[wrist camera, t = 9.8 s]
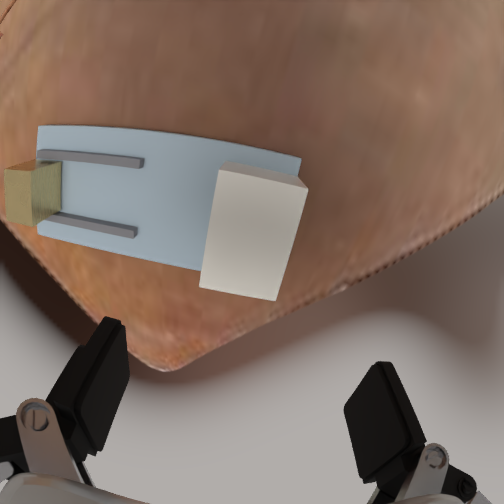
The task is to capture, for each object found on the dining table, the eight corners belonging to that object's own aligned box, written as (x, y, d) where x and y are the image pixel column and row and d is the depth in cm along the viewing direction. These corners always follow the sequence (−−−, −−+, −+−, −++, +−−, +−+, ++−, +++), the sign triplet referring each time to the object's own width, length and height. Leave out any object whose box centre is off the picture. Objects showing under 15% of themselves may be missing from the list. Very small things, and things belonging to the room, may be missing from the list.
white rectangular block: (225, 160, 22) (218, 169, 18) (297, 176, 23) (308, 189, 18) (207, 258, 26) (199, 286, 22) (271, 270, 27) (275, 301, 22)
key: (-8, 63, 17) (60, -32, 12) (-12, 63, 16) (56, -34, 12) (-21, 49, 15) (41, -40, 10) (-25, 49, 14) (38, -42, 9)
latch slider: (34, 159, 21) (4, 169, 17) (61, 161, 22) (30, 171, 17) (34, 205, 23) (6, 220, 19) (60, 210, 24) (32, 226, 19)
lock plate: (47, 124, 21) (32, 126, 19) (298, 157, 24) (303, 160, 21) (45, 229, 26) (33, 237, 24) (267, 276, 29) (268, 289, 26)
